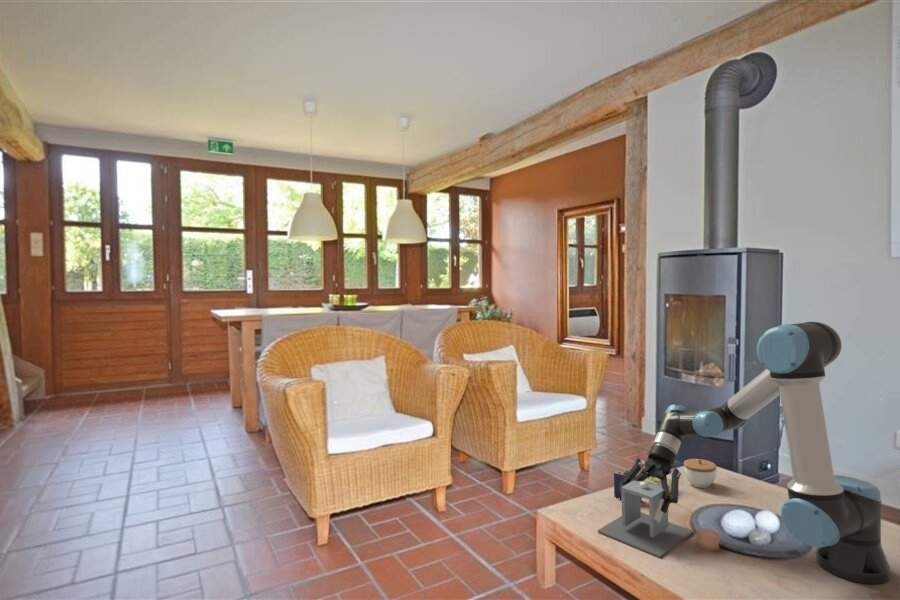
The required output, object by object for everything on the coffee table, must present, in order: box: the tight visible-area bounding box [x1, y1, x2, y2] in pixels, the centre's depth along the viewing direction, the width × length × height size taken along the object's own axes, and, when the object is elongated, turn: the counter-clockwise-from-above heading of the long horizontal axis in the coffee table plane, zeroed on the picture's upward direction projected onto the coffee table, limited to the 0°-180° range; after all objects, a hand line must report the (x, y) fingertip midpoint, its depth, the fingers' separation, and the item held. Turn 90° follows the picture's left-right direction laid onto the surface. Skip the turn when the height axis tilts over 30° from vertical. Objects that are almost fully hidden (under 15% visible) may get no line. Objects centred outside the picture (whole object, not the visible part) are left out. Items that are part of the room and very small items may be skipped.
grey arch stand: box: [620, 480, 669, 537], centre depth 154 cm, size 10×9×13 cm
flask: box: [613, 468, 643, 503], centre depth 178 cm, size 9×3×11 cm, turn 61°
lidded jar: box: [683, 458, 717, 489], centre depth 187 cm, size 11×11×9 cm
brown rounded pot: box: [695, 528, 721, 552], centre depth 146 cm, size 6×6×4 cm
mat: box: [597, 511, 694, 559], centre depth 155 cm, size 20×20×1 cm
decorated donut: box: [644, 476, 672, 495], centre depth 184 cm, size 10×11×4 cm
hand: (639, 515), depth 152 cm, fingers closed on grey arch stand, 10 cm apart
